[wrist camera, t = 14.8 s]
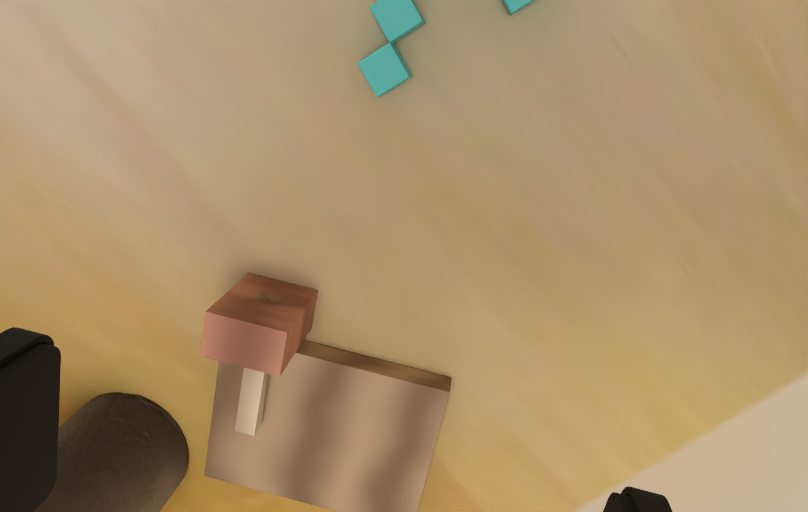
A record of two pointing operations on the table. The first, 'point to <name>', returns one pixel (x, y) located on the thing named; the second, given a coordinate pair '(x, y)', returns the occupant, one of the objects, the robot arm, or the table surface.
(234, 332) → the wooden mallet
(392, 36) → the alien figure
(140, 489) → the pillar candle
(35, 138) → the table surface
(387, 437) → the plank
